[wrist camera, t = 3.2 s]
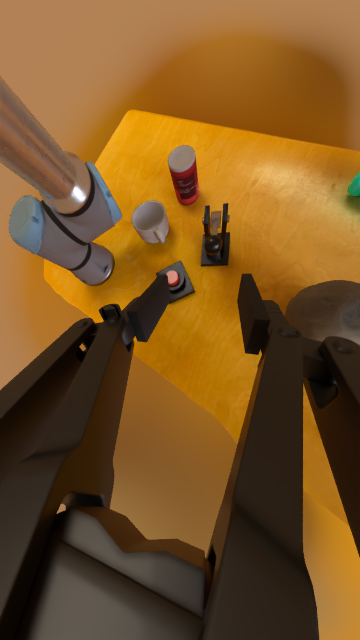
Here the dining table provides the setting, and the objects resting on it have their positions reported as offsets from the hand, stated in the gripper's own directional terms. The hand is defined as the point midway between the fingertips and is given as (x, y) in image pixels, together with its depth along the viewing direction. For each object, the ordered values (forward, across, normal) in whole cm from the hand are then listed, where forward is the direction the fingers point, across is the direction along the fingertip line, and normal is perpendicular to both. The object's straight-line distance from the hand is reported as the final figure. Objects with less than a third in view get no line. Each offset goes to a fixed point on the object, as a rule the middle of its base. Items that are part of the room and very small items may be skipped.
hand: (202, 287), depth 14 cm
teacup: (+41, -20, -1) cm, 46 cm away
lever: (+24, 0, 0) cm, 24 cm away
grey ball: (+23, +24, -20) cm, 38 cm away
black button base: (+29, -12, -12) cm, 34 cm away
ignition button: (+27, -12, -10) cm, 31 cm away
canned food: (+52, -11, +10) cm, 54 cm away
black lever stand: (+37, 0, -5) cm, 37 cm away
